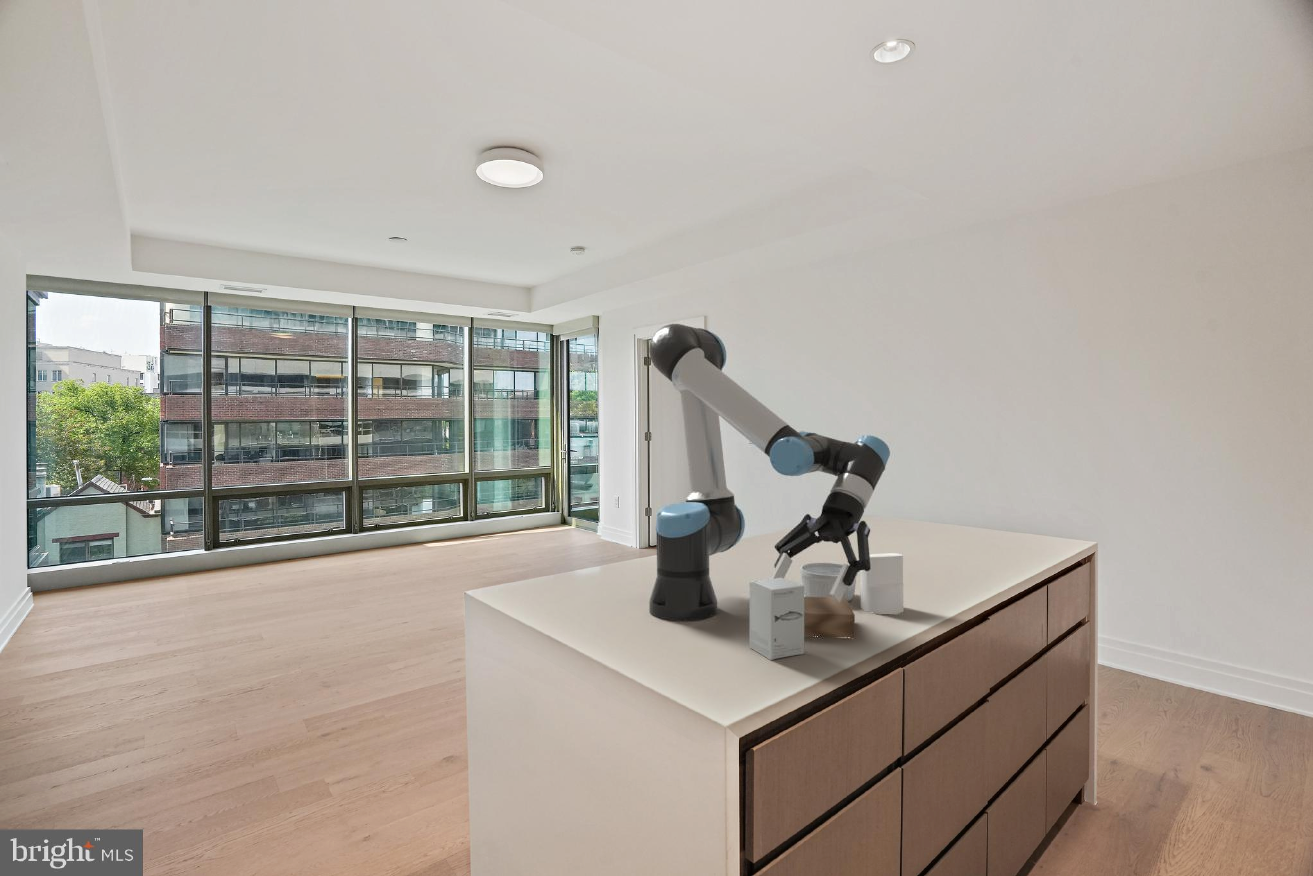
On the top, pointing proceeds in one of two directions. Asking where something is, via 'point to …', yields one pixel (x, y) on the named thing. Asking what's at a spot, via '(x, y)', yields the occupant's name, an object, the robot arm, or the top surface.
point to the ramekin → (823, 579)
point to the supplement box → (777, 617)
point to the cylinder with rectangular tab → (883, 584)
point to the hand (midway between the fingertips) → (802, 591)
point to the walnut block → (828, 618)
